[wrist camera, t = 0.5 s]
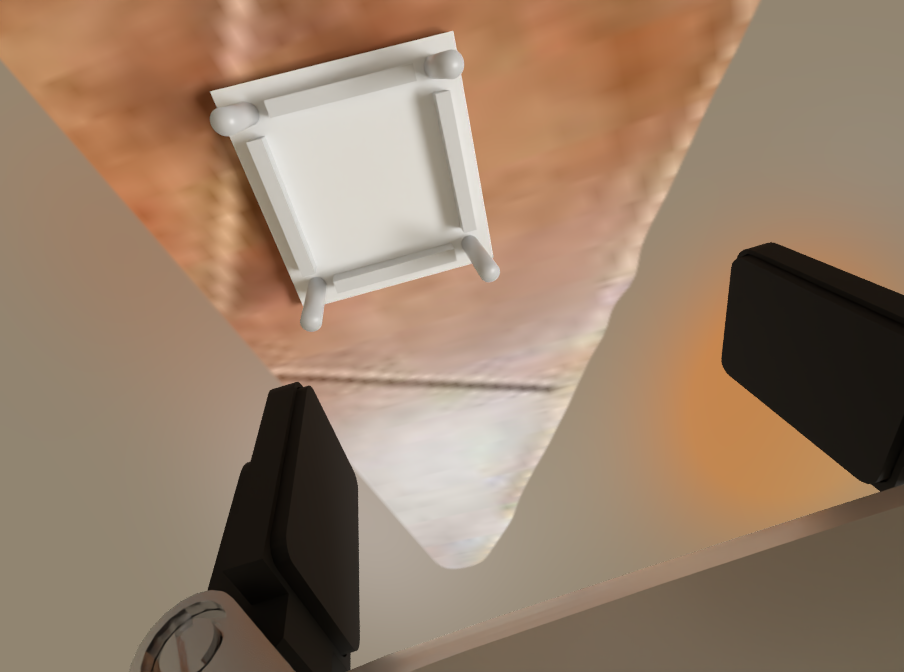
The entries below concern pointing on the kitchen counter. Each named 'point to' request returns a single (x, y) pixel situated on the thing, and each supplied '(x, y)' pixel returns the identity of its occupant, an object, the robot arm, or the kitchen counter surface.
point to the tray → (363, 169)
